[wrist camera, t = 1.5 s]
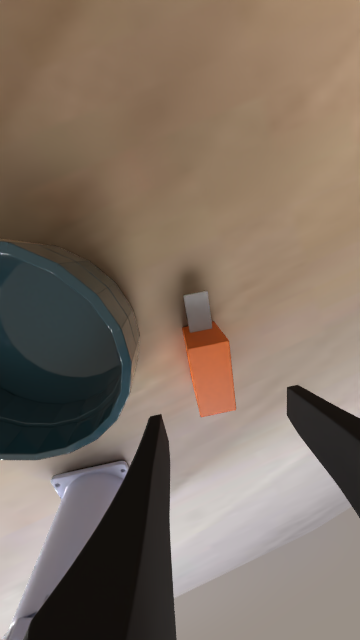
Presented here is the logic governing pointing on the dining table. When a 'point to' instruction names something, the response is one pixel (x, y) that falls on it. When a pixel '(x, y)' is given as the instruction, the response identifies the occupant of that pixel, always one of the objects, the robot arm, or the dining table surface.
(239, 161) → the dining table surface
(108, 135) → the dining table surface
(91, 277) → the bowl
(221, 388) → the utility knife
